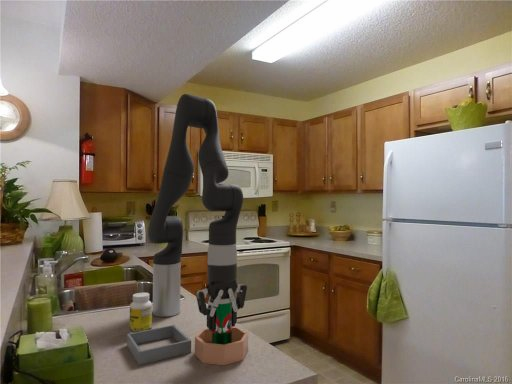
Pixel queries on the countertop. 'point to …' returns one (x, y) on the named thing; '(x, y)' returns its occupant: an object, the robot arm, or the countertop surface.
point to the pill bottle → (140, 313)
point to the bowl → (221, 347)
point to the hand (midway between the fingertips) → (221, 327)
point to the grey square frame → (162, 351)
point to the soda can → (223, 322)
